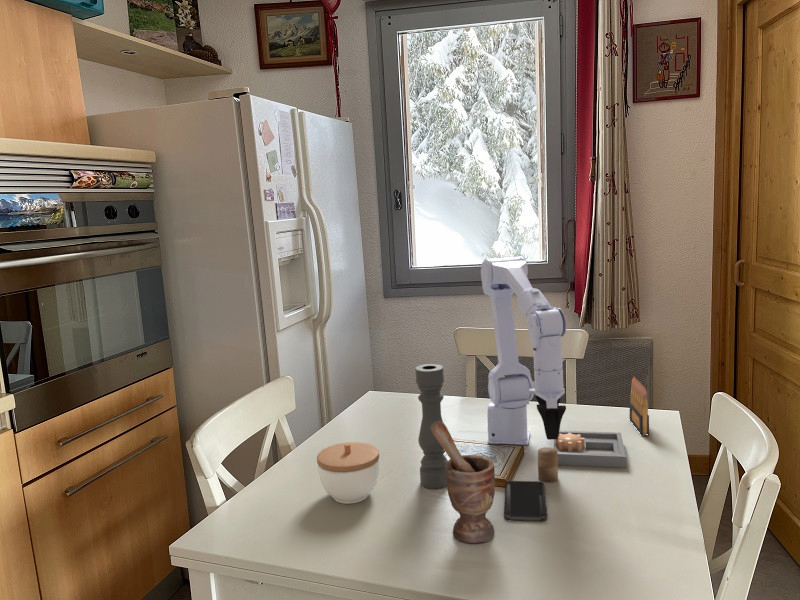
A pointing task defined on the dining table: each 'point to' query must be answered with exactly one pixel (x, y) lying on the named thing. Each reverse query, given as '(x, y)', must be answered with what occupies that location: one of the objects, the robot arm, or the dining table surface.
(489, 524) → the mortar and pestle
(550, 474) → the brown rounded cylinder
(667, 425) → the dining table surface
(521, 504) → the phone
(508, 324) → the robot arm
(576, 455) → the housing
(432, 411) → the candle holder
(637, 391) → the ammunition clip
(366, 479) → the lidded bowl
